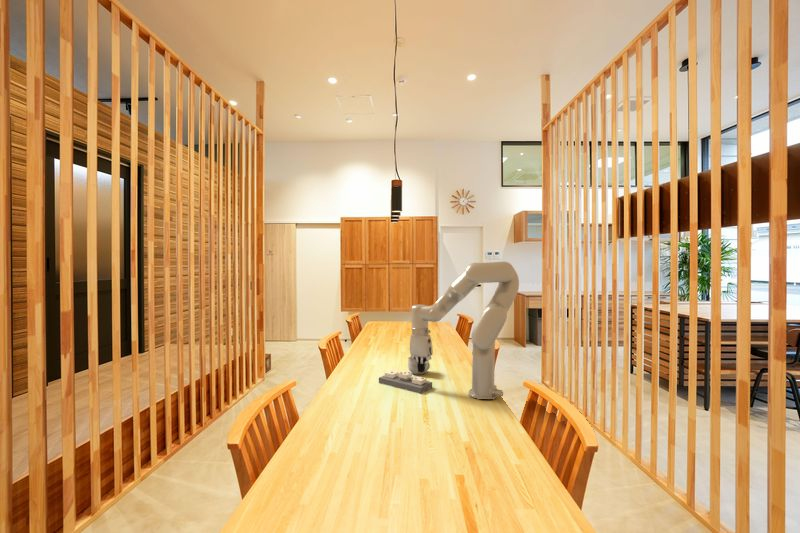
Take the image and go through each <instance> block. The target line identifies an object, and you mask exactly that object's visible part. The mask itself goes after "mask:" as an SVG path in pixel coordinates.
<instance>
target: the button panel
mask: <svg viewBox="0 0 800 533" xmlns="http://www.w3.org/2000/svg"><path fill="white" fill-rule="evenodd" d="M413 378H414V377H413V376H412V377H410V380H409V381H407V382H404V381H400V377H398V376H397V377H395V378H393V379H392V378H388V377H385V374H384V375H382V376H380V377H378V383H379V384H381V385H382V384H383V385H385V386H388V387H389V386H390V387H394V388H397V389H401V390H406V391H409V392H412V393H417V394H420V395H421V394H422V393H424V392H426V391H428V390H430V389H432V388H433V381H428V380H426V383H424V384H423V385H417V384H414V383H412V379H413Z"/></svg>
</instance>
